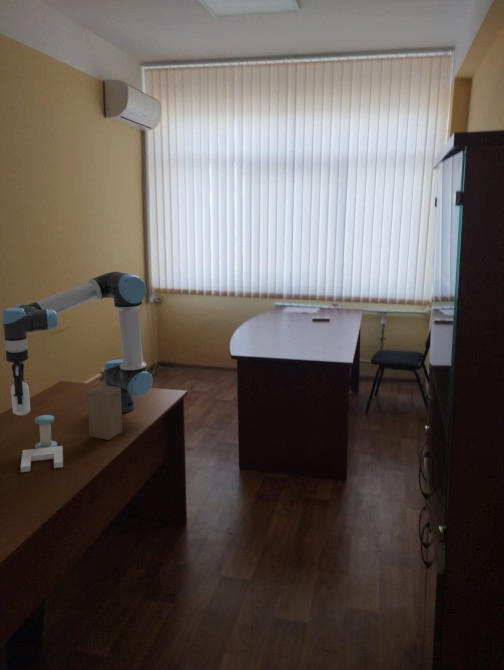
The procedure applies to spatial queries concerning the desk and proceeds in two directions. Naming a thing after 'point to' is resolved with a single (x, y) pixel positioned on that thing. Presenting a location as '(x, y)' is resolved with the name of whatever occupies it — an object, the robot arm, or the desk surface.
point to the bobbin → (45, 431)
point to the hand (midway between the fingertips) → (21, 408)
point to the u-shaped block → (42, 456)
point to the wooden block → (105, 412)
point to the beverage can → (26, 399)
